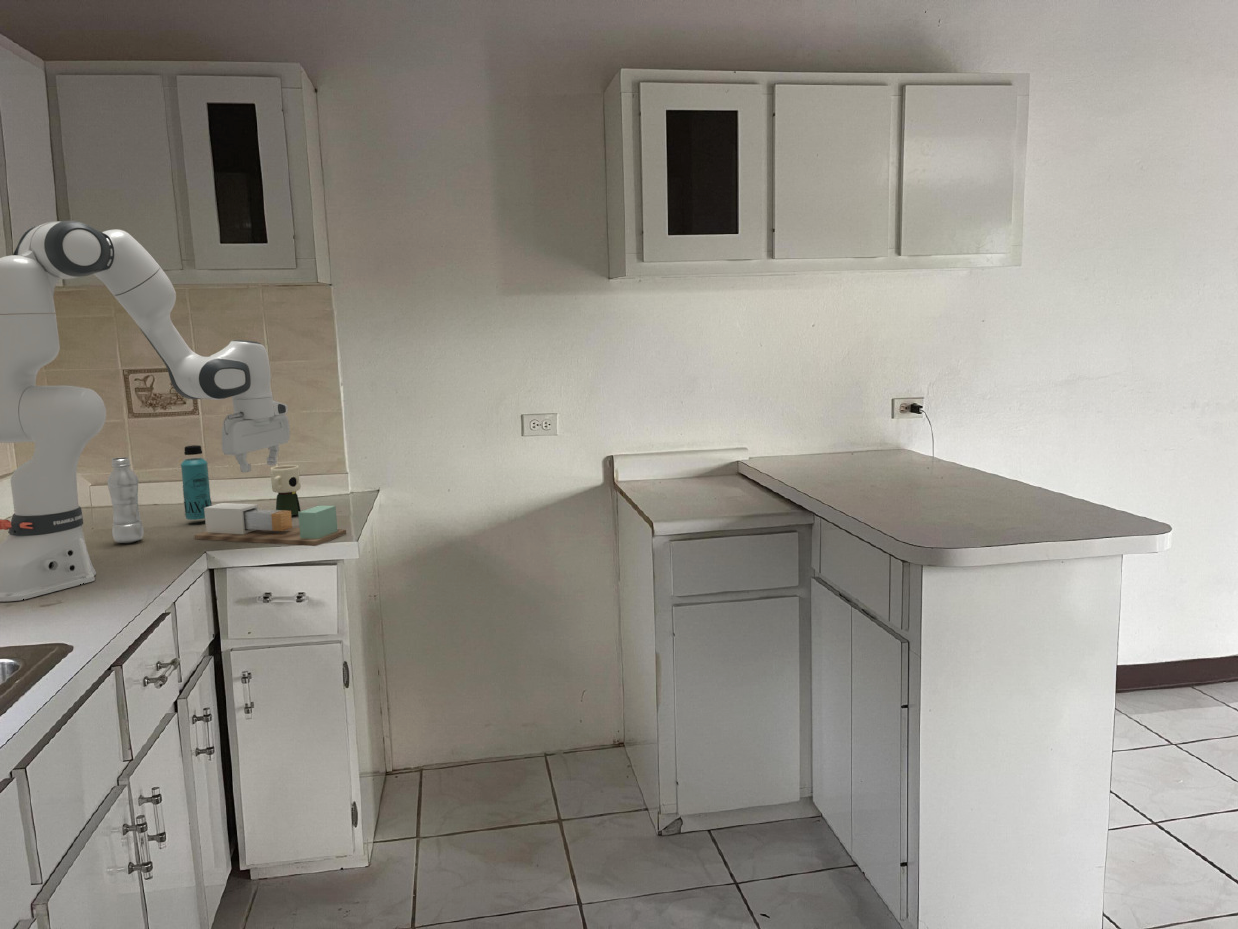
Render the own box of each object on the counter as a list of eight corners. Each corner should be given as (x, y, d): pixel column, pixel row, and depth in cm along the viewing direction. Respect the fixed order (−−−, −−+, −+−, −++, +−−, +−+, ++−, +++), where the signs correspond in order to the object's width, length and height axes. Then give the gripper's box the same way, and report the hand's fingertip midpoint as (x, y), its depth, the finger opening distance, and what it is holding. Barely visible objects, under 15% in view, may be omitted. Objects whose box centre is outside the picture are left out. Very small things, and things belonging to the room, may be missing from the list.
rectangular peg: (212, 527, 227) (211, 511, 226) (224, 524, 230) (222, 507, 230) (281, 530, 221) (280, 514, 220) (292, 527, 225) (290, 510, 224)
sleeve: (206, 532, 226) (204, 507, 225) (223, 526, 232) (221, 502, 231) (243, 534, 223) (241, 509, 222) (260, 528, 229) (257, 504, 228)
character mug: (291, 520, 243) (287, 470, 241) (265, 520, 244) (261, 470, 242) (310, 511, 253) (307, 463, 251) (285, 511, 254) (281, 463, 252)
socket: (300, 538, 217) (298, 512, 216) (321, 530, 225) (319, 505, 224) (317, 539, 216) (315, 512, 215) (337, 531, 223) (335, 506, 222)
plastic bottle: (106, 545, 220) (97, 460, 217) (131, 538, 227) (122, 455, 223) (127, 546, 218) (117, 461, 215) (151, 540, 224) (142, 456, 221)
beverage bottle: (180, 524, 241) (172, 446, 238) (202, 519, 247) (194, 443, 244) (197, 526, 238) (189, 447, 235) (219, 521, 244) (212, 444, 241)
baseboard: (194, 539, 224) (194, 535, 224) (229, 528, 235) (229, 524, 235) (316, 545, 214) (315, 541, 214) (346, 533, 225) (345, 529, 225)
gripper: (234, 415, 210) (240, 476, 212) (292, 404, 229) (297, 461, 231) (211, 415, 212) (217, 476, 214) (270, 404, 231) (275, 460, 233)
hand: (259, 468), depth 223 cm, fingers open, 8 cm apart
